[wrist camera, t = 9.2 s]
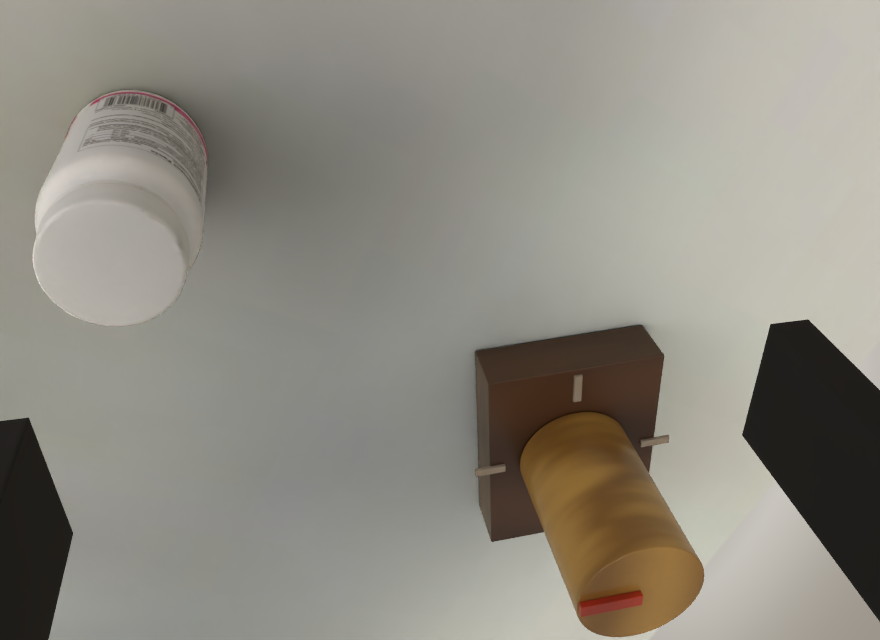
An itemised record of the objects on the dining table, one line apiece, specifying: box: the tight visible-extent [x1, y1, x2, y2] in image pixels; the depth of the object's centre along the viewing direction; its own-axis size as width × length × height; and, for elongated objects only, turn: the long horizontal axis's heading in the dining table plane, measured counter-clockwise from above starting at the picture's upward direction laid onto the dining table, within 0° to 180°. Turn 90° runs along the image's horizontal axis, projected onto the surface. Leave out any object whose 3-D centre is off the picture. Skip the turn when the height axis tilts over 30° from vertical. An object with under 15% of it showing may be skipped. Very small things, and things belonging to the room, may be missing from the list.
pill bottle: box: [32, 90, 208, 326], centre depth 26 cm, size 5×5×8 cm
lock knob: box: [520, 412, 704, 637], centre depth 35 cm, size 5×5×8 cm
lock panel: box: [475, 325, 669, 542], centre depth 39 cm, size 10×9×3 cm
